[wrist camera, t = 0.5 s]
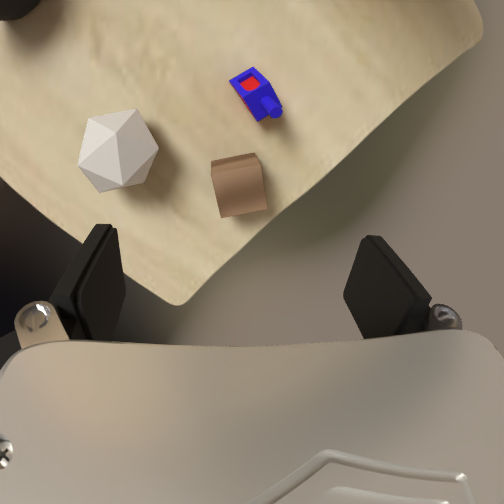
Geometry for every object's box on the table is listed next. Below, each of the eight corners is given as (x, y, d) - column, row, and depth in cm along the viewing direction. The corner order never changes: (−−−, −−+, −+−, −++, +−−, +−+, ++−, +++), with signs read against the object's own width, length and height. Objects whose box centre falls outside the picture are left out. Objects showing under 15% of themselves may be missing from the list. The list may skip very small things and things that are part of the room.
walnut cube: (211, 161, 33) (210, 174, 29) (254, 152, 33) (260, 164, 29) (220, 199, 36) (221, 218, 31) (260, 191, 36) (267, 209, 31)
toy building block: (243, 102, 31) (266, 134, 27) (228, 80, 28) (250, 109, 24) (266, 89, 30) (292, 118, 27) (253, 66, 27) (279, 92, 24)
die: (141, 90, 28) (65, 106, 21) (188, 136, 27) (108, 162, 20) (121, 144, 33) (56, 168, 26) (161, 189, 33) (94, 223, 26)
